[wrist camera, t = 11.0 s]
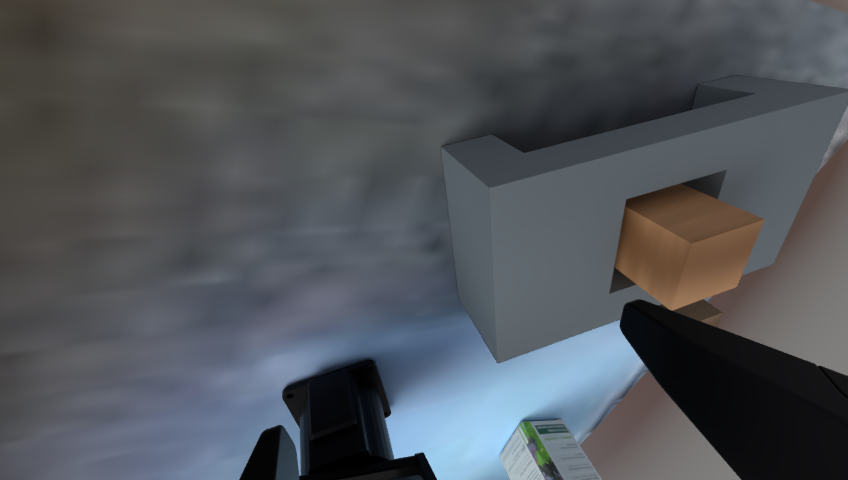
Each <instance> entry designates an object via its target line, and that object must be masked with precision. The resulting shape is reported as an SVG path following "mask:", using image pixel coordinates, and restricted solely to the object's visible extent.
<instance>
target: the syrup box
mask: <svg viewBox="0 0 848 480" xmlns="http://www.w3.org/2000/svg"><path fill="white" fill-rule="evenodd" d="M500 459H501V461H502V463H503V466H504V468H505V470H506V472H507V474H508V476H509V478H510V480H602V479H601V477H600V476H599V475H598V473H597V471H596V470H595V468H594V467H593V465H592V464H591V462H590V461H589V459H588V458H587V456H586V455H585V453H584V452H583V450H582V449H581V447H580V446H579V444H578V442H577V441H576V439H575V438H574V436H573V435H572V433H571V432H570V430H569V429H568V427H567V426H566V424H565V422H564V421H563V420H562V419H557V420H547V421H521V422H520V424H519V425H518V427H517V429H516V430H515V432H514V433H513V435H512V436H511V438H510V440H509V441H508V443H507V444H506V446H505V448H504V449H503V451H502V453H501V454H500Z"/></svg>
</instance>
